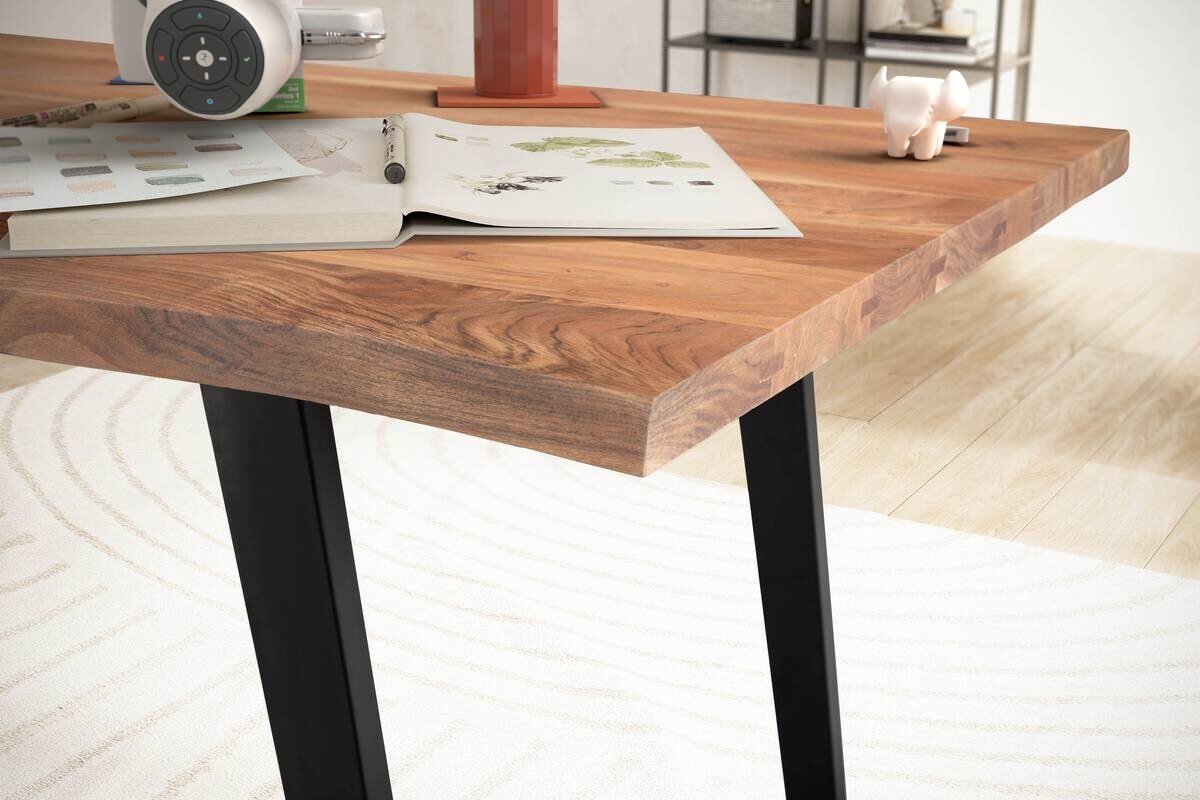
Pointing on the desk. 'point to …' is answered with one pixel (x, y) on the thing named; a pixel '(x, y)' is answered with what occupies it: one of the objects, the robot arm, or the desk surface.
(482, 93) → the terracotta cup
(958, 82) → the elephant figurine
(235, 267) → the desk surface
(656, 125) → the desk surface
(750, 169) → the desk surface
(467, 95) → the terracotta mat
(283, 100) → the ink box
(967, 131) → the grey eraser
